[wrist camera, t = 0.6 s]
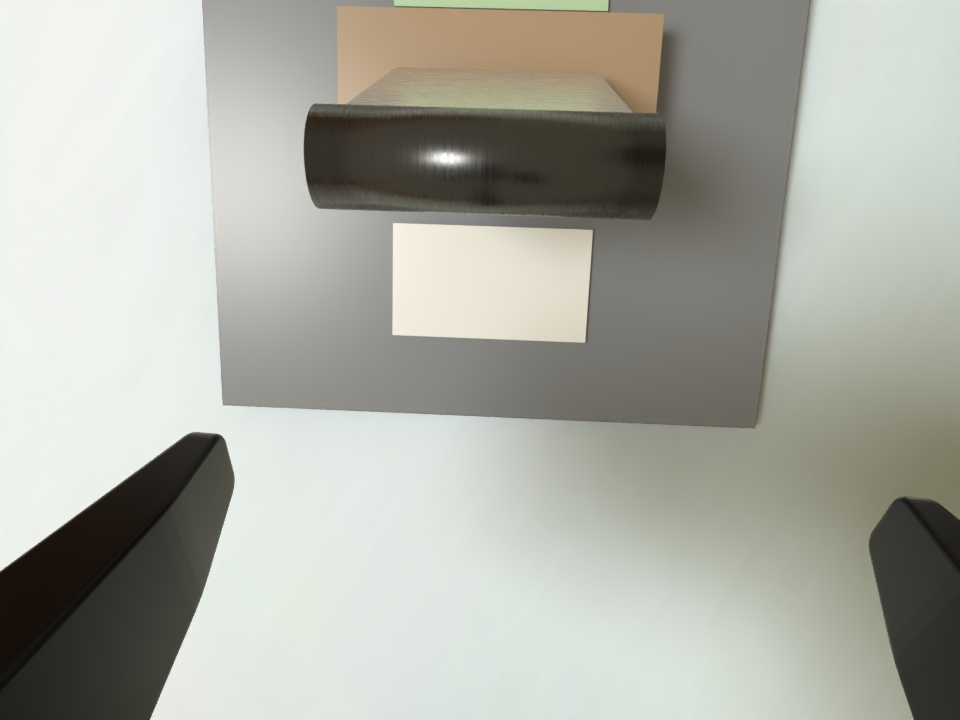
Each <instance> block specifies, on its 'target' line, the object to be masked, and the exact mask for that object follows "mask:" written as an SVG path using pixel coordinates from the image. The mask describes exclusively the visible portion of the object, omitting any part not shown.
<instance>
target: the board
mask: <svg viewBox="0 0 960 720" xmlns="http://www.w3.org/2000/svg"><path fill="white" fill-rule="evenodd" d="M809 2H810V0H202V7H203V27H204V46H205V66H206V85H207V105H208V125H209V144H210V164H211V183H212V203H213V223H214V242H215V262H216V281H217V301H218V320H219V340H220V360H221V379H222V399H223V405H232V406H255V407H278V408H301V409H324V410H347V411H370V412H393V413H416V414H439V415H462V416H485V417H508V418H530V419H553V420H576V421H599V422H622V423H645V424H668V425H691V426H714V427H737V428H755V426H756V418H757V410H758V402H759V394H760V387H761V379H762V371H763V363H764V355H765V347H766V339H767V332H768V324H769V316H770V308H771V300H772V292H773V285H774V277H775V269H776V261H777V253H778V245H779V237H780V230H781V222H782V214H783V206H784V198H785V190H786V183H787V175H788V167H789V159H790V151H791V143H792V135H793V128H794V120H795V112H796V104H797V96H798V88H799V81H800V73H801V65H802V57H803V49H804V41H805V34H806V26H807V18H808V10H809ZM395 67H422V68H459V69H496V70H533V71H570V72H598V73H599V74H600V75H601V77H602V78H603V79H604V80H605V81H606V82H607V83H608V85H609V86H610V87H611V88H612V89H613V90H614V91H615V93H616V94H617V95H618V96H619V97H620V98H621V99H622V101H623V102H624V103H625V104H626V105H627V106H628V107H629V109H630V110H631V111H632V112H633V113H660V114H661V115H662V116H663V118H664V122H665V129H666V160H665V170H664V178H663V184H662V190H661V194H660V199H659V202H658V206H657V209H656V211H655V214H654V215H653V217H652V218H651V219H650V220H631V219H602V218H572V217H543V216H514V215H484V214H455V213H425V212H396V211H367V210H337V209H318V208H317V207H316V206H315V205H314V203H313V201H312V199H311V197H310V194H309V190H308V186H307V181H306V175H305V166H304V131H305V123H306V118H307V115H308V112H309V109H310V107H311V106H312V105H313V104H315V103H318V104H346V103H348V102H349V101H350V100H352V99H353V98H355V97H356V96H357V95H359V94H360V93H361V92H363V91H364V90H365V89H367V88H368V87H369V86H371V85H372V84H374V83H375V82H376V81H378V80H379V79H380V78H382V77H383V76H384V75H386V74H387V73H389V72H390V71H391V70H393V69H394V68H395Z"/></svg>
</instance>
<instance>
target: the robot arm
mask: <svg viewBox="0 0 960 720" xmlns="http://www.w3.org/2000/svg"><path fill="white" fill-rule="evenodd" d="M234 481H235V479H234V472H233V468H232V464H231V460H230V457H229V453H228V449H227V445H226V442H225V440H224V438H223V437H222V436H221V435H219V434H212V433H201V432H193V433H190V434H187V435H186V436H184V437H183V438H181V439H180V440H179V441H177V442H176V443H175V444H173V445H172V446H171V447H169V448H168V449H166V450H165V451H164V452H162V453H161V454H160V455H158V456H157V457H156V458H154V459H153V460H151V461H150V462H149V463H147V464H146V465H145V466H143V467H142V468H141V469H139V470H138V471H136V472H135V473H134V474H132V475H131V476H130V477H128V478H127V479H125V480H124V481H123V482H121V483H120V484H119V485H117V486H116V487H115V488H113V489H112V490H110V491H109V492H108V493H106V494H105V495H104V496H102V497H101V498H100V499H98V500H97V501H95V502H94V503H93V504H91V505H90V506H89V507H87V508H86V509H85V510H83V511H82V512H80V513H79V514H78V515H76V516H75V517H74V518H72V519H71V520H70V521H68V522H67V523H65V524H64V525H63V526H61V527H60V528H59V529H57V530H56V531H55V532H53V533H52V534H50V535H49V536H48V537H46V538H45V539H44V540H42V541H41V542H40V543H38V544H37V545H35V546H34V547H33V548H31V549H30V550H29V551H27V552H26V553H25V554H23V555H22V556H20V557H19V558H18V559H16V560H15V561H14V562H12V563H11V564H9V565H8V566H7V567H5V568H4V569H3V570H1V571H0V720H150V718H151V716H152V713H153V711H154V708H155V706H156V704H157V701H158V699H159V697H160V694H161V692H162V690H163V687H164V685H165V682H166V680H167V678H168V675H169V673H170V671H171V668H172V666H173V664H174V661H175V659H176V656H177V654H178V652H179V649H180V647H181V645H182V642H183V640H184V638H185V635H186V633H187V630H188V628H189V626H190V623H191V621H192V619H193V616H194V614H195V612H196V609H197V606H198V604H199V601H200V599H201V596H202V594H203V590H204V587H205V584H206V581H207V578H208V575H209V571H210V568H211V565H212V561H213V558H214V554H215V551H216V548H217V544H218V541H219V538H220V534H221V531H222V527H223V524H224V521H225V517H226V514H227V511H228V507H229V504H230V500H231V497H232V494H233V490H234ZM869 551H870V556H871V561H872V565H873V570H874V574H875V579H876V583H877V587H878V592H879V596H880V601H881V605H882V610H883V614H884V619H885V623H886V628H887V632H888V637H889V641H890V645H891V649H892V653H893V657H894V661H895V664H896V667H897V671H898V674H899V677H900V680H901V683H902V686H903V689H904V692H905V695H906V698H907V701H908V704H909V707H910V710H911V713H912V716H913V719H914V720H960V520H959V519H958V518H956V517H955V516H954V515H953V514H951V513H950V512H949V511H948V510H946V509H945V508H944V507H943V506H941V505H940V504H939V503H937V502H936V501H934V500H931V499H926V498H915V497H900V498H898V499H896V500H894V502H893V503H892V504H891V505H890V507H889V508H888V510H887V511H886V513H885V514H884V516H883V517H882V518H881V520H880V521H879V523H878V524H877V526H876V527H875V528H874V530H873V532H872V533H871V536H870V541H869Z"/></svg>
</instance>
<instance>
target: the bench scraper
mask: <svg viewBox="0 0 960 720" xmlns="http://www.w3.org/2000/svg"><path fill="white" fill-rule="evenodd" d="M665 160H666V129H665V122H664V118H663V116H662V115H661V114H660V113H633V112H632V111H631V110H630V109H629V107H628V106H627V105H626V104H625V103H624V102H623V101H622V99H621V98H620V97H619V96H618V95H617V94H616V93H615V91H614V90H613V89H612V88H611V87H610V86H609V85H608V83H607V82H606V81H605V80H604V79H603V78H602V77H601V75H600V74H599V73H598V72H570V71H533V70H496V69H459V68H422V67H395V68H394V69H393V70H391V71H390V72H389V73H387V74H386V75H384V76H383V77H382V78H380V79H379V80H378V81H376V82H375V83H374V84H372V85H371V86H369V87H368V88H367V89H365V90H364V91H363V92H361V93H360V94H359V95H357V96H356V97H355V98H353V99H352V100H350V101H349V102H348V103H346V104H318V103H315V104H313V105H312V106H311V107H310V109H309V112H308V115H307V118H306V123H305V131H304V166H305V175H306V181H307V186H308V190H309V194H310V197H311V199H312V201H313V203H314V205H315V206H316V207H317V208H318V209H337V210H367V211H396V212H425V213H455V214H484V215H514V216H543V217H572V218H602V219H631V220H650V219H651V218H652V217H653V215H654V214H655V211H656V209H657V206H658V202H659V199H660V194H661V190H662V184H663V178H664V170H665Z"/></svg>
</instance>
